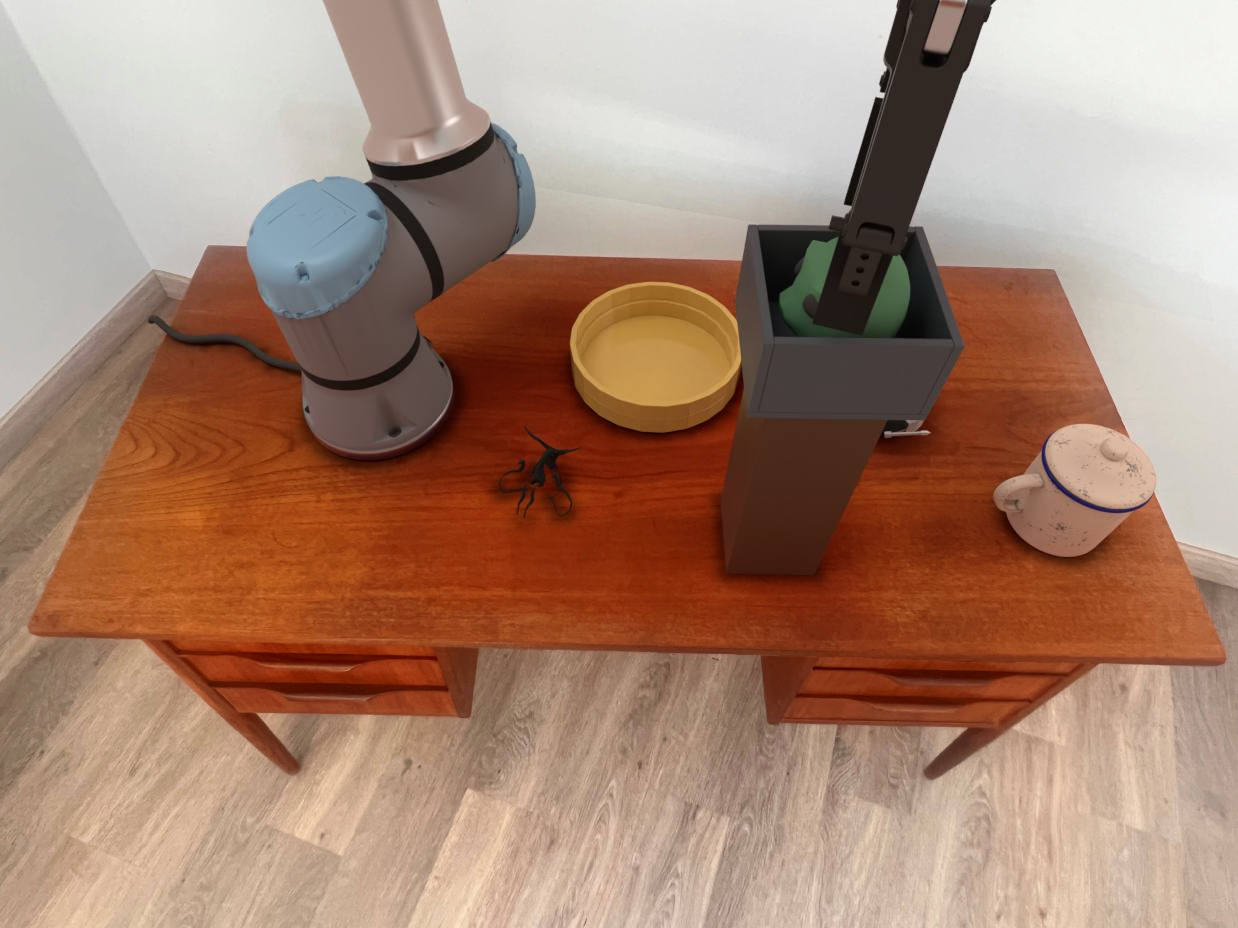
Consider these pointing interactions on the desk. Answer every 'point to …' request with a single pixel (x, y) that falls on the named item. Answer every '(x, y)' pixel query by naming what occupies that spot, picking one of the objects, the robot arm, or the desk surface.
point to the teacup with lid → (1077, 489)
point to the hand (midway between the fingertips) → (852, 261)
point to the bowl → (655, 356)
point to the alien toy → (808, 286)
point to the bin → (819, 402)
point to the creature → (541, 472)
